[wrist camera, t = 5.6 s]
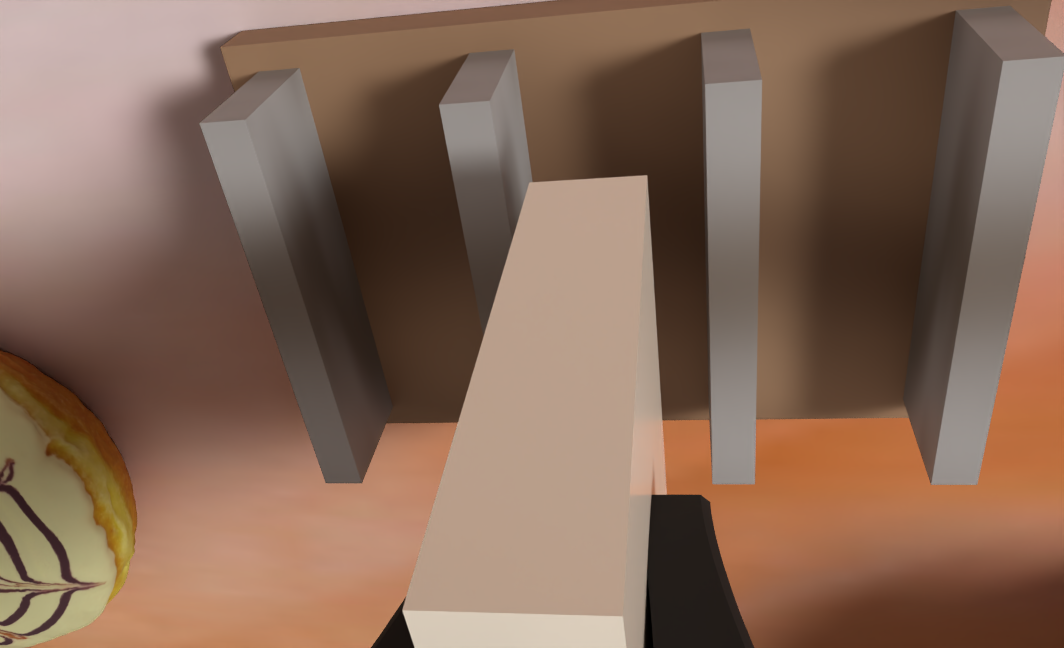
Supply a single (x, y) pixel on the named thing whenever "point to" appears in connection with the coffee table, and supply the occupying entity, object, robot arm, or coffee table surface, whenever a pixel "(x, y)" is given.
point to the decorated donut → (57, 510)
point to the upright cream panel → (554, 440)
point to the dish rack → (652, 201)
